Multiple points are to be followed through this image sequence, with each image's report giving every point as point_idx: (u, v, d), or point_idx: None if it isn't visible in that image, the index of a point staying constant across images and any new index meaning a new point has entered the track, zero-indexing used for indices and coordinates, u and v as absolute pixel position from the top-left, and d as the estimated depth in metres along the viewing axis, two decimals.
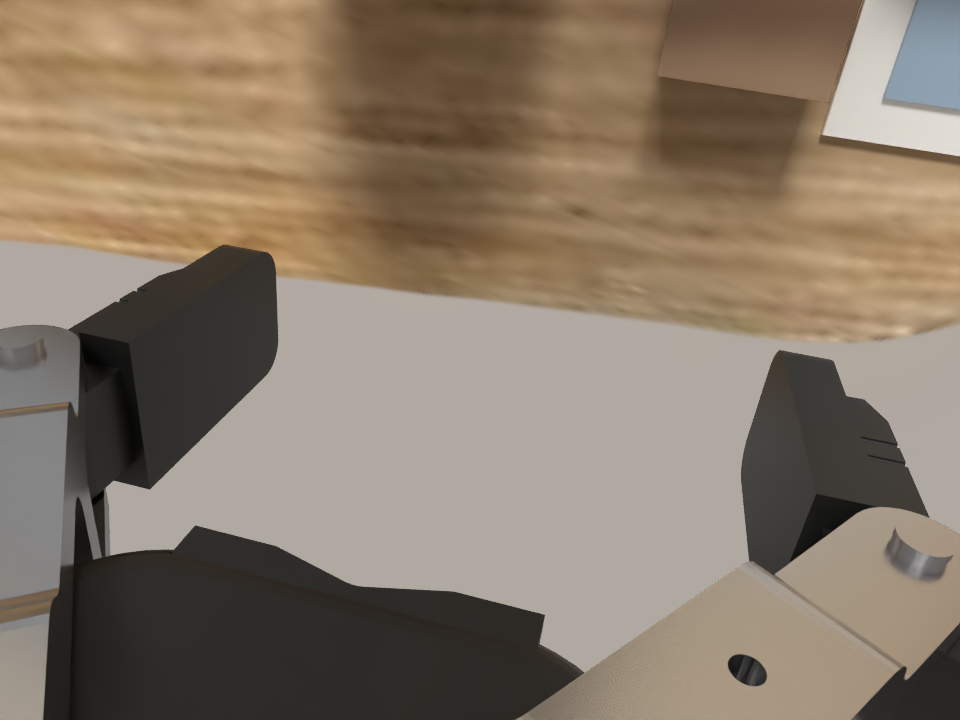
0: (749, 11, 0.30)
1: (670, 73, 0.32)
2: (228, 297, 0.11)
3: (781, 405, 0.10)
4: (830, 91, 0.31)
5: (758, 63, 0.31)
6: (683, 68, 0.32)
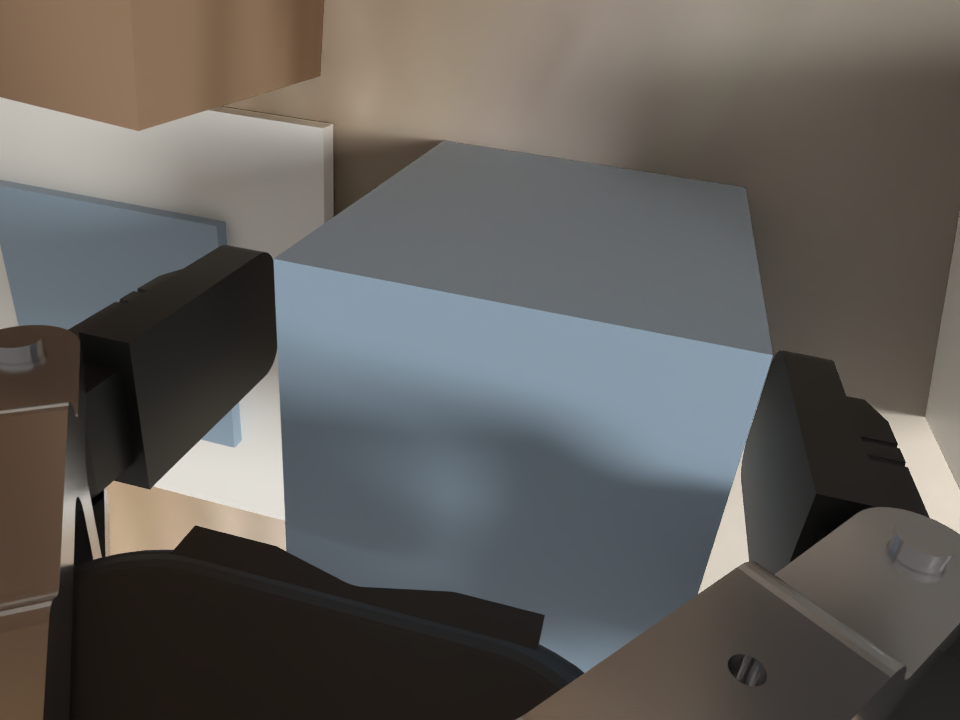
0: None
1: None
2: (228, 297, 0.11)
3: (781, 405, 0.10)
4: None
5: None
6: None
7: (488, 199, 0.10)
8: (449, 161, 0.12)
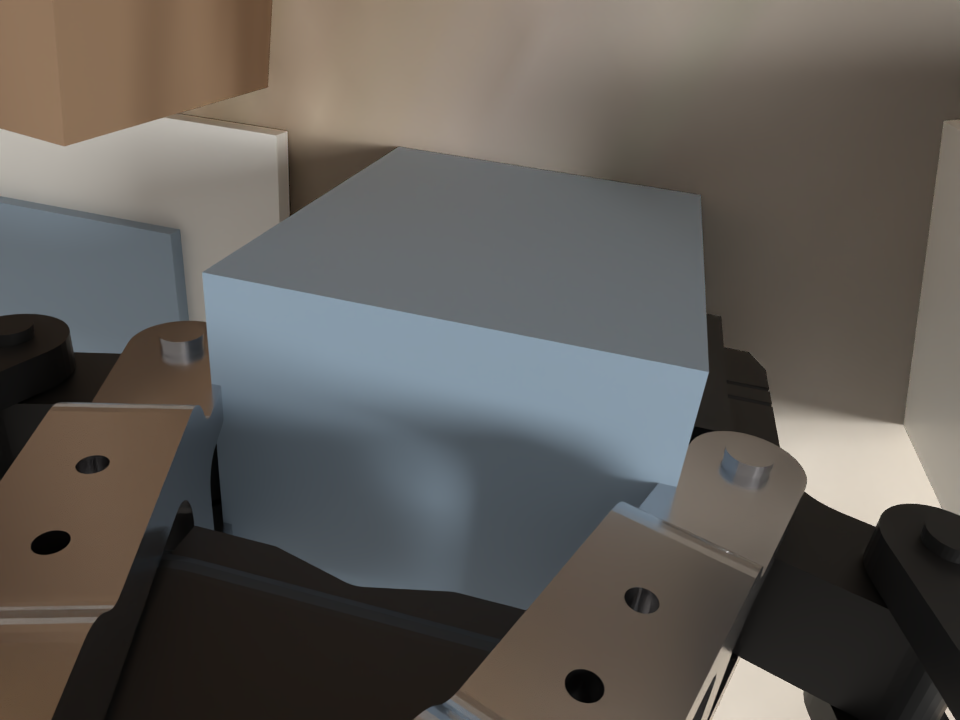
0: None
1: None
2: None
3: None
4: None
5: None
6: None
7: (435, 209, 0.10)
8: (401, 168, 0.12)
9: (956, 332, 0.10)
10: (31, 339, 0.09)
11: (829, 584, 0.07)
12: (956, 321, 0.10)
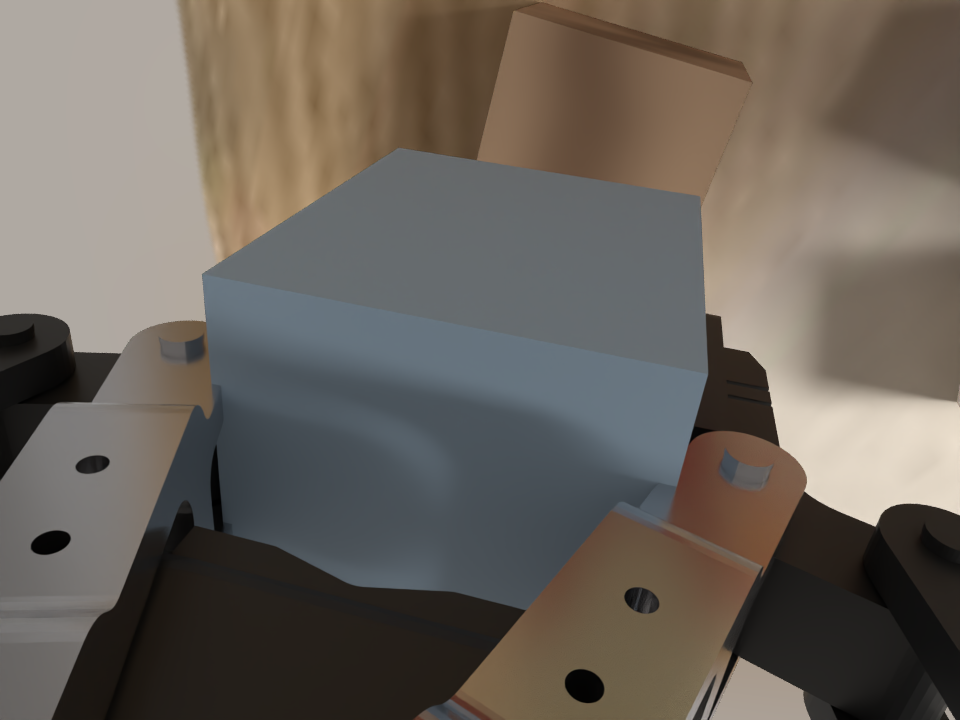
0: (578, 144, 0.23)
1: (514, 31, 0.22)
2: None
3: None
4: None
5: (512, 153, 0.24)
6: (518, 51, 0.22)
7: (435, 210, 0.10)
8: (401, 170, 0.12)
9: None
10: (31, 338, 0.09)
11: (829, 583, 0.07)
12: None
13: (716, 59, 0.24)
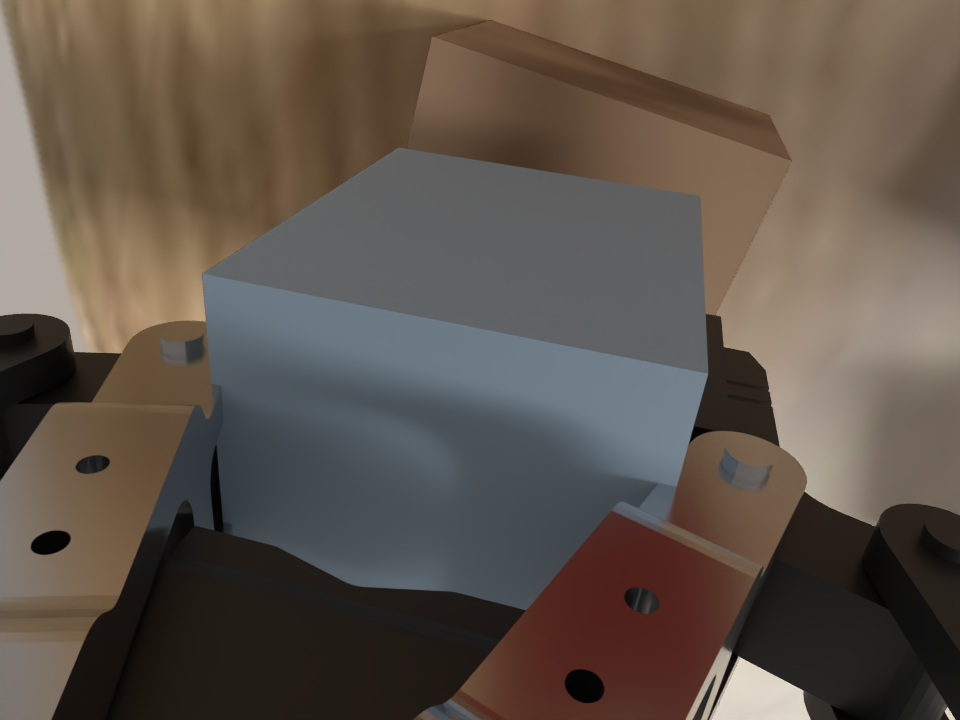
0: None
1: (434, 68, 0.15)
2: None
3: None
4: None
5: None
6: (439, 96, 0.15)
7: (435, 210, 0.10)
8: (400, 170, 0.12)
9: None
10: (32, 339, 0.09)
11: (828, 582, 0.07)
12: None
13: (734, 113, 0.17)
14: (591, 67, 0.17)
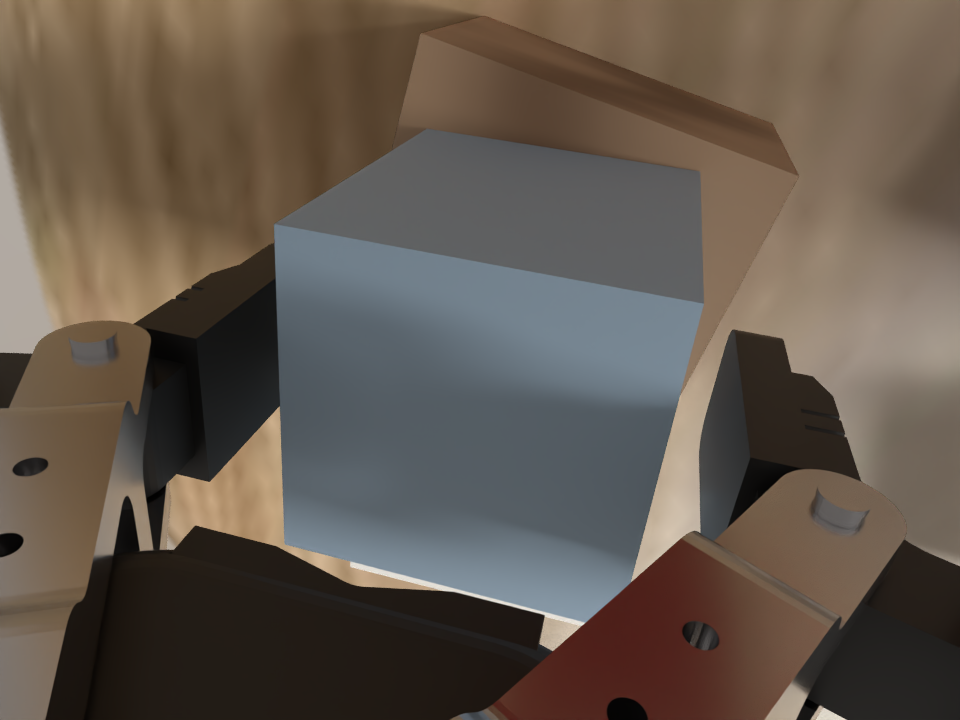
0: None
1: (422, 67, 0.14)
2: None
3: (731, 381, 0.10)
4: None
5: None
6: (427, 98, 0.14)
7: (465, 179, 0.11)
8: (431, 147, 0.13)
9: None
10: None
11: (939, 638, 0.07)
12: None
13: (737, 121, 0.16)
14: (588, 69, 0.16)
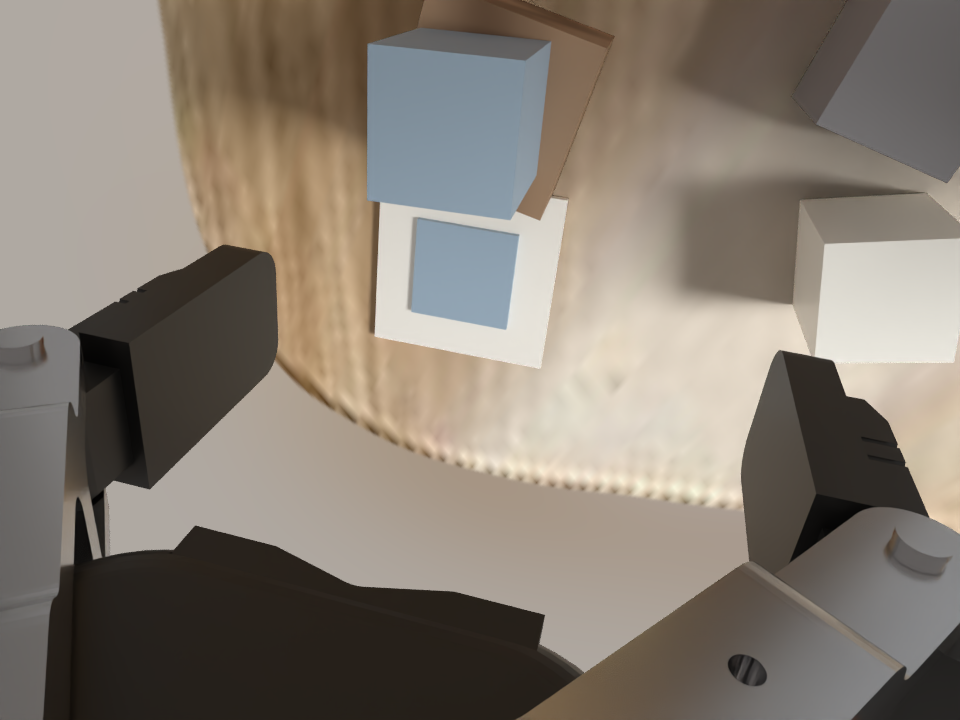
0: None
1: None
2: (228, 297, 0.11)
3: (781, 405, 0.10)
4: None
5: None
6: (432, 11, 0.29)
7: (439, 38, 0.26)
8: (423, 31, 0.28)
9: (802, 266, 0.33)
10: None
11: None
12: (802, 263, 0.33)
13: (590, 31, 0.31)
14: (513, 3, 0.31)
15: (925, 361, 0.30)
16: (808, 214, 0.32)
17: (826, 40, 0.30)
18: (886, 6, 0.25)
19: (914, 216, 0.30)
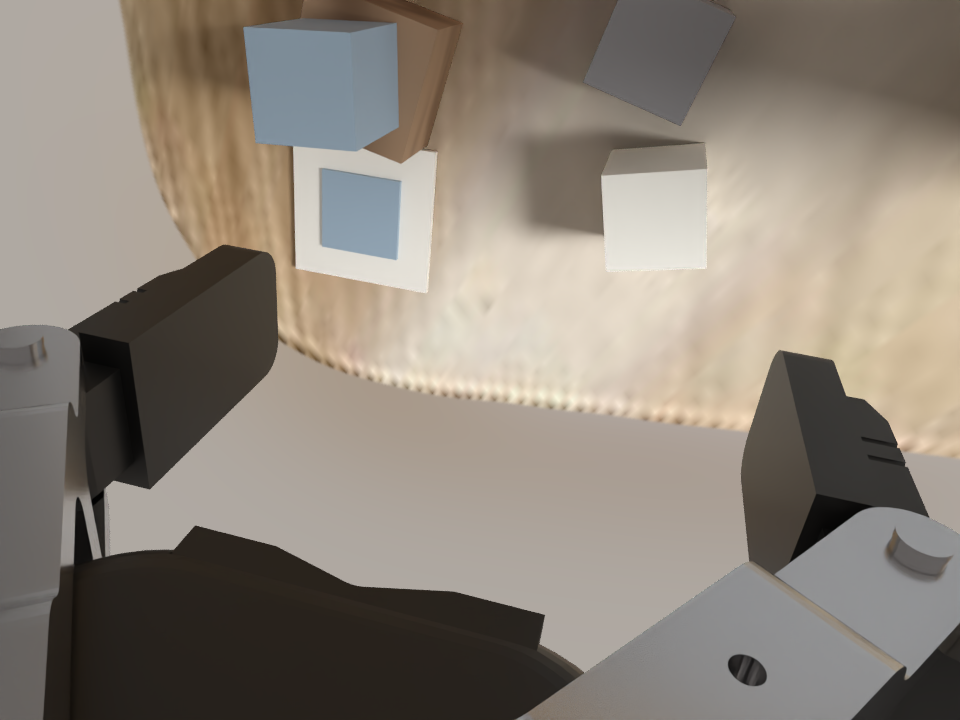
0: None
1: None
2: (228, 297, 0.11)
3: (781, 405, 0.10)
4: None
5: None
6: (311, 2, 0.38)
7: (305, 23, 0.36)
8: (300, 20, 0.37)
9: None
10: None
11: None
12: None
13: (439, 18, 0.40)
14: None
15: (686, 268, 0.39)
16: (608, 158, 0.41)
17: None
18: None
19: (679, 157, 0.39)
